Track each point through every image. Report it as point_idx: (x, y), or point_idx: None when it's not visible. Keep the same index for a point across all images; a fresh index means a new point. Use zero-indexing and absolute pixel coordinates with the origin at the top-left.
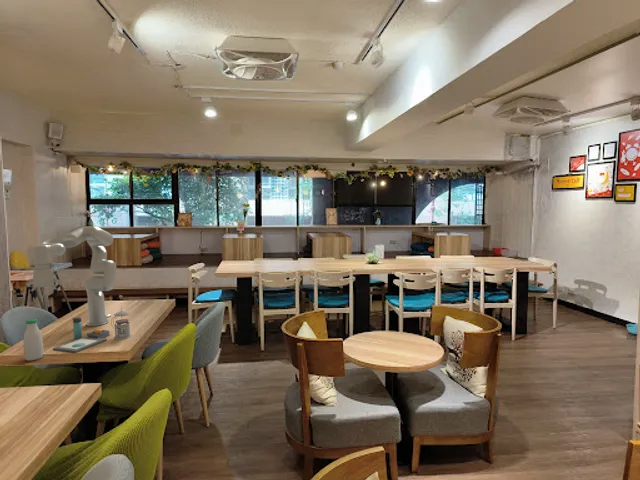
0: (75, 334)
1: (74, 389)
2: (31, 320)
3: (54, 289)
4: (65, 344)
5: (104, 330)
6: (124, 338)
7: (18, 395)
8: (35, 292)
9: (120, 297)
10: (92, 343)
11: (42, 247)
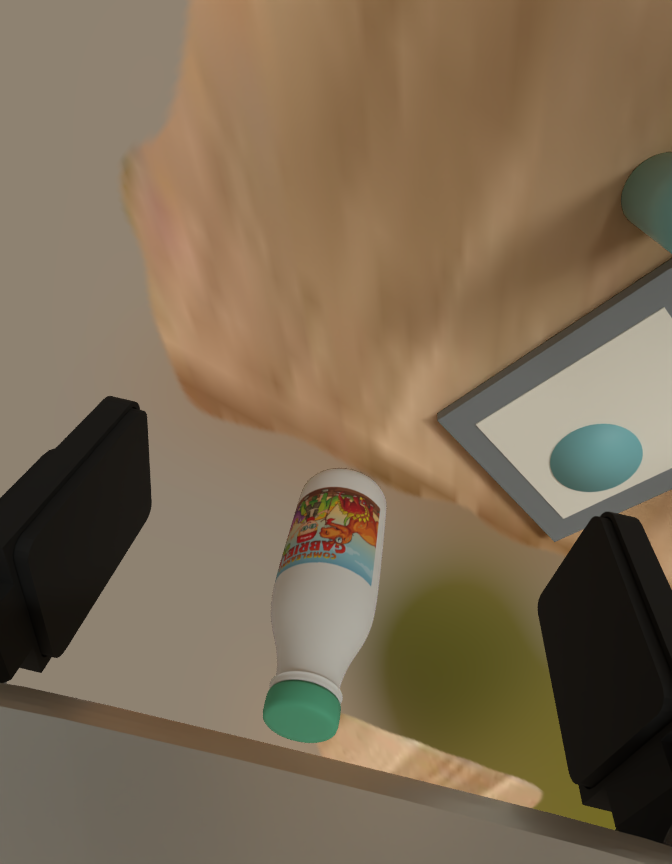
0: (645, 232)
1: (484, 786)
2: (302, 738)
3: (622, 793)
4: (520, 388)
5: None
6: None
7: (346, 747)
8: (74, 588)
9: None
10: None
11: None
